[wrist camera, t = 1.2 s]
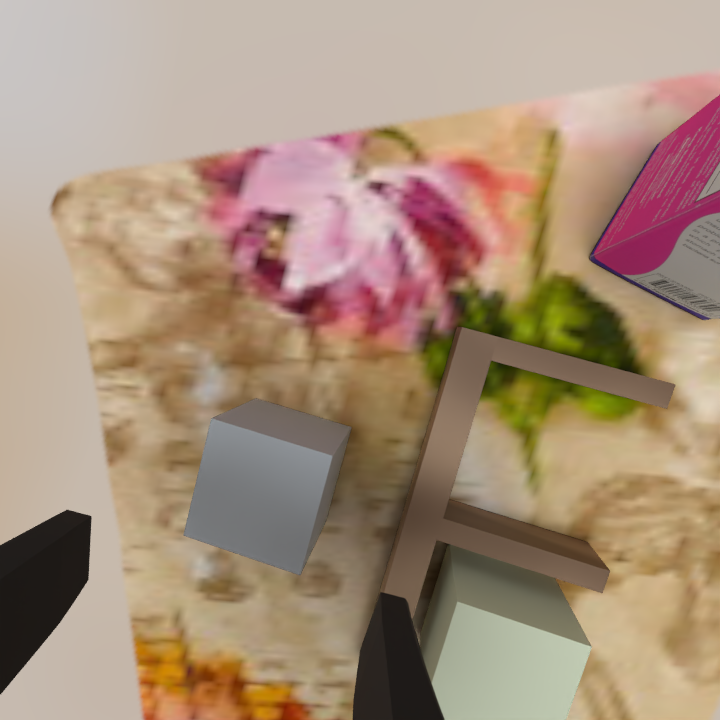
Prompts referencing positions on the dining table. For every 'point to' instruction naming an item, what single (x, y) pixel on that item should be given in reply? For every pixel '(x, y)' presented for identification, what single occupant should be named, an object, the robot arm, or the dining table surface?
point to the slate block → (266, 483)
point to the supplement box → (673, 220)
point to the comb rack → (442, 459)
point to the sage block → (501, 641)
